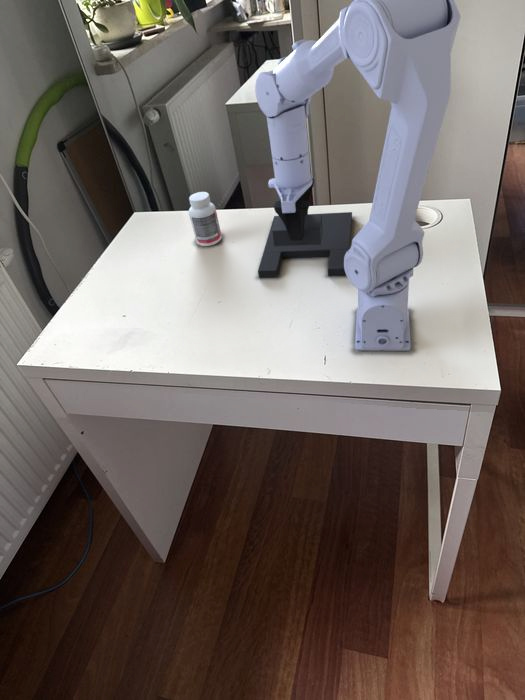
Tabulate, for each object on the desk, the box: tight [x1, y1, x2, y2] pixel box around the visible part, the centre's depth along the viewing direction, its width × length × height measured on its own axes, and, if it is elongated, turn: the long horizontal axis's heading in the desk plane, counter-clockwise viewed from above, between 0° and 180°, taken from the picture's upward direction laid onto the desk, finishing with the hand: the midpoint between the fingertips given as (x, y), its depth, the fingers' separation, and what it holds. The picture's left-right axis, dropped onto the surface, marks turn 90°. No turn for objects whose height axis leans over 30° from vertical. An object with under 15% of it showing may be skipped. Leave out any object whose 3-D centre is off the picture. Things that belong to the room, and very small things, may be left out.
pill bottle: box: [188, 191, 223, 247], centre depth 105 cm, size 5×5×10 cm
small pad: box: [272, 213, 323, 246], centre depth 89 cm, size 5×8×3 cm, turn 81°
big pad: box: [257, 211, 353, 279], centre depth 100 cm, size 20×16×2 cm
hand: (298, 230), depth 90 cm, fingers closed on small pad, 5 cm apart
